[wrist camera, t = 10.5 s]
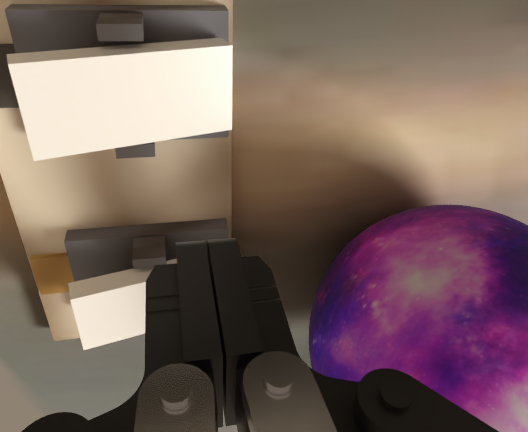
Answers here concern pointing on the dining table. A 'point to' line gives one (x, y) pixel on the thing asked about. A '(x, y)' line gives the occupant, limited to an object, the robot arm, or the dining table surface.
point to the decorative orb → (433, 308)
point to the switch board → (109, 156)
